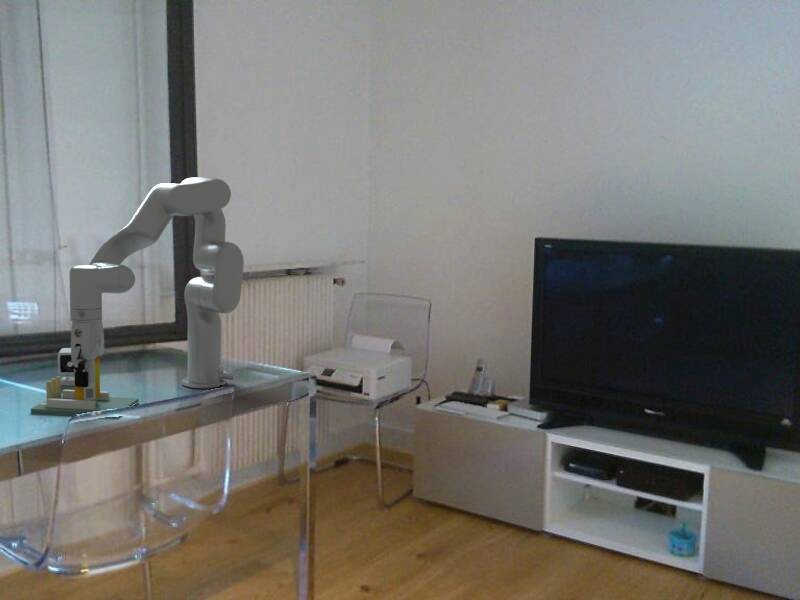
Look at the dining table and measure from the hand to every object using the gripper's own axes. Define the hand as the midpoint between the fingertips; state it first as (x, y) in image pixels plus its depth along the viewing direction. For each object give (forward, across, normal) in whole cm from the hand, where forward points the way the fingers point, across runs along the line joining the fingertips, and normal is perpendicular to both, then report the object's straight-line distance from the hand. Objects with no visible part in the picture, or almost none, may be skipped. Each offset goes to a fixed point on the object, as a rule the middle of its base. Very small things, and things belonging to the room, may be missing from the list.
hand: (87, 382), depth 201 cm
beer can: (+5, 0, 0) cm, 5 cm away
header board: (+7, 0, 0) cm, 7 cm away
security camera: (+7, +22, +14) cm, 27 cm away
